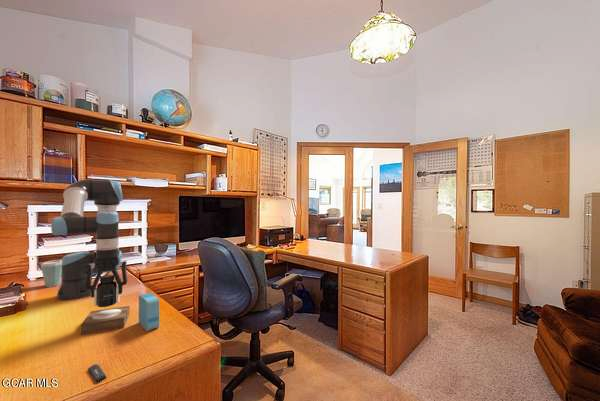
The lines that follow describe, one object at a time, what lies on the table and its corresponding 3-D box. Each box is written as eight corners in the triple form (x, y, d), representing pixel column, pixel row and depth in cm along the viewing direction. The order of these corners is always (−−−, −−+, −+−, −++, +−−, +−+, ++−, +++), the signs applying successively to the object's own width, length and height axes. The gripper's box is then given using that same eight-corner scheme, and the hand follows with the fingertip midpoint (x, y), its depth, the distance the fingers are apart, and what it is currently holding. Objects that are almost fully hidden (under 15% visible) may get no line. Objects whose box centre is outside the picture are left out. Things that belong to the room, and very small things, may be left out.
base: (91, 320, 114) (91, 310, 114) (129, 314, 120) (129, 305, 120) (80, 335, 101) (80, 323, 101) (123, 327, 107) (123, 317, 107)
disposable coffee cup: (52, 288, 157) (52, 263, 157) (34, 288, 157) (34, 263, 157) (68, 283, 167) (68, 259, 168) (51, 282, 168) (52, 259, 168)
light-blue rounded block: (159, 328, 106) (159, 298, 106) (146, 332, 103) (147, 301, 103) (150, 319, 115) (150, 291, 115) (138, 322, 112) (138, 294, 112)
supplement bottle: (106, 308, 106) (106, 278, 106) (92, 307, 108) (92, 278, 108) (121, 301, 113) (120, 274, 113) (108, 301, 114) (107, 273, 114)
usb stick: (87, 371, 80) (87, 366, 80) (98, 367, 82) (98, 362, 82) (95, 385, 74) (95, 379, 74) (107, 380, 76) (107, 374, 76)
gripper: (74, 251, 103) (74, 310, 103) (133, 248, 111) (133, 302, 111) (81, 248, 110) (80, 304, 109) (136, 245, 118) (135, 296, 118)
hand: (107, 303), depth 110 cm, fingers closed on supplement bottle, 7 cm apart
